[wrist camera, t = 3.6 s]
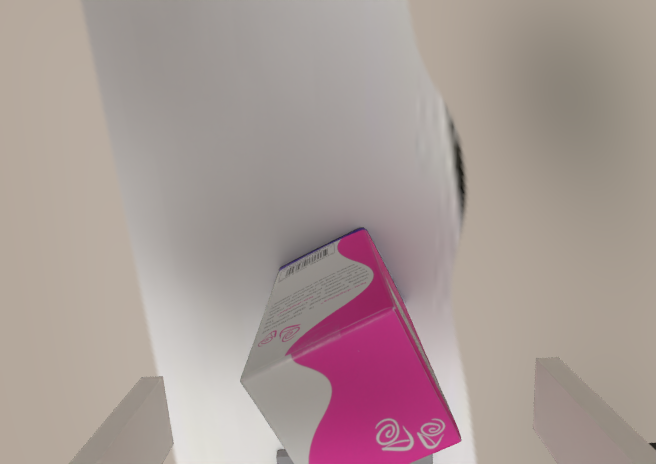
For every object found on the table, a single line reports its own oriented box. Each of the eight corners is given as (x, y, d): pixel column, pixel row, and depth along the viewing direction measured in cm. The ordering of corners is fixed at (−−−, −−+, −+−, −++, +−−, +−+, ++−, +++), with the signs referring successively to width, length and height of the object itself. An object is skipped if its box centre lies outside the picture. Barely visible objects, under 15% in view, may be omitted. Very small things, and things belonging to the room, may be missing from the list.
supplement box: (323, 348, 26) (313, 510, 14) (277, 267, 24) (228, 374, 13) (408, 309, 25) (468, 447, 14) (365, 223, 24) (391, 298, 13)
